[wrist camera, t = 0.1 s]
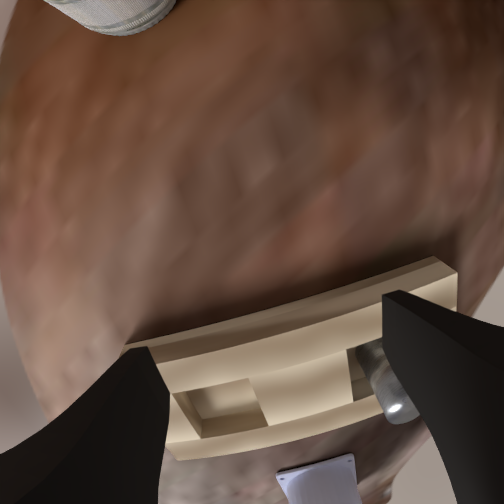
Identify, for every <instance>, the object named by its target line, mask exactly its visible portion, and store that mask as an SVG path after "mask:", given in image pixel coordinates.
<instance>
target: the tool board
mask: <svg viewBox="0 0 504 504" xmlns="http://www.w3.org/2000/svg"><path fill="white" fill-rule="evenodd" d="M396 290H403V291H406V292H408V293H411V294H414V295H416V296H419V297H421V298H423V299H426V300H428V301H431V302H433V303H435V304H438V305H440V306H443V307H445V308H448V309H450V310H453V311H455V312H456V306H457V272H456V271H455V270H453V269H452V268H450V267H449V266H447V265H446V264H445V263H443V262H442V261H440V260H439V259H437V258H436V257H434V256H431V257H428V258H425V259H423V260H420V261H417V262H414V263H411V264H409V265H406V266H403V267H400V268H397V269H394V270H391V271H388V272H385V273H382V274H380V275H377V276H374V277H371V278H368V279H365V280H362V281H358V282H355V283H352V284H349V285H346V286H343V287H340V288H337V289H334V290H330V291H327V292H324V293H321V294H317V295H314V296H311V297H308V298H304V299H301V300H298V301H294V302H291V303H287V304H284V305H280V306H277V307H274V308H270V309H266V310H263V311H259V312H256V313H252V314H249V315H245V316H241V317H238V318H234V319H230V320H226V321H222V322H219V323H215V324H211V325H207V326H203V327H199V328H195V329H191V330H187V331H183V332H179V333H175V334H171V335H166V336H162V337H158V338H154V339H149V340H145V341H140V342H136V343H131V344H127V345H124V347H123V350H122V352H121V354H120V356H119V358H120V357H121V356H122V355H123V354H124V353H125V352H126V351H128V350H129V349H130V348H136V347H143V346H148V348H149V351H150V353H151V355H152V357H153V359H154V361H155V363H156V366H157V368H158V370H159V372H160V374H161V376H162V378H163V380H164V382H165V384H166V386H167V388H168V390H169V392H170V416H169V425H168V431H167V437H166V443H165V446H166V447H167V448H168V450H169V451H170V452H171V453H172V454H173V456H174V457H175V458H176V459H177V460H178V461H180V460H190V459H198V458H206V457H213V456H220V455H226V454H232V453H238V452H244V451H249V450H254V449H259V448H264V447H269V446H273V445H278V444H282V443H286V442H290V441H294V440H298V439H302V438H306V437H309V436H313V435H317V434H320V433H323V432H327V431H330V430H333V429H337V428H340V427H343V426H346V425H349V424H352V423H355V422H358V421H361V420H364V419H366V418H369V417H372V416H375V415H377V414H380V413H383V410H382V408H381V406H380V404H379V402H378V400H377V398H376V396H375V394H374V392H373V390H372V388H371V386H370V384H369V382H368V380H367V378H366V376H365V374H364V372H363V370H362V368H361V366H360V364H359V363H358V361H357V359H356V356H355V350H356V347H357V346H358V345H361V344H364V343H367V342H369V341H372V340H375V339H378V338H380V337H382V294H385V293H389V292H392V291H396Z"/></svg>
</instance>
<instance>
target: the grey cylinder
mask: <svg viewBox="0 0 504 504" xmlns="http://www.w3.org/2000/svg"><path fill="white" fill-rule="evenodd" d="M355 356H356V359H357V361H358V363H359V364H360V366H361V368H362V370H363V372H364V374H365V376H366V378H367V380H368V382H369V384H370V386H371V388H372V390H373V392H374V394H375V396H376V398H377V400H378V402H379V404H380V406H381V408H382V410H383V412H384V414H385V416H386V418H387V420H388V421H389V422H390V423H392V424H402V423H406V422H409V421H411V420H413V419H415V418H416V417H418V416H419V415H420V413H419V412H418V410H417V409H416V407H415V405H414V404H413V402H412V401H411V399H410V398H409V396H408V395H407V393H406V391H405V390H404V388H403V387H402V385H401V384H400V382H399V380H398V379H397V377H396V376H395V374H394V372H393V370H392V368H391V366H390V364H389V362H388V360H387V357H386V355H385V353H384V351H383V349H382V337H380V338H378V339H375V340H372V341H369V342H367V343H364V344H361V345H358V346H357V347H356V350H355Z"/></svg>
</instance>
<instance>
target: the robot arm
mask: <svg viewBox="0 0 504 504" xmlns="http://www.w3.org/2000/svg"><path fill="white" fill-rule="evenodd" d="M382 349H383V351H384V353H385V355H386V357H387V360H388V362H389V364H390V366H391V368H392V370H393V372H394V374H395V376H396V377H397V379H398V380H399V382H400V384H401V385H402V387H403V388H404V390H405V391H406V393H407V395H408V396H409V398H410V399H411V401H412V402H413V404H414V405H415V407H416V409H417V410H418V412H419V413H420V415H421V417H422V418H423V420H424V421H425V423H426V425H427V427H428V429H429V430H430V432H431V434H432V436H433V439H434V441H435V443H436V446H437V448H438V450H439V452H440V455H441V457H442V460H443V462H444V465H445V468H446V470H447V473H448V476H449V478H450V481H451V484H452V488H453V491H454V494H455V497H456V501H457V504H504V327H501V326H497V325H493V324H490V323H486V322H483V321H480V320H477V319H474V318H471V317H469V316H466V315H463V314H460V313H458V312H455V311H453V310H450V309H448V308H445V307H443V306H440V305H438V304H435V303H433V302H431V301H428V300H426V299H423V298H421V297H419V296H416V295H414V294H411V293H408V292H406V291H403V290H396V291H392V292H389V293H385V294H382ZM169 416H170V392H169V390H168V388H167V386H166V384H165V382H164V380H163V378H162V376H161V374H160V372H159V370H158V368H157V366H156V363H155V361H154V359H153V357H152V355H151V353H150V351H149V348H148V346H143V347H136V348H130V349H129V350H128V351H126V352H125V353H124V354H123V355H122V356H121V357H120V358H119V359H118V360H117V361H116V362H115V363H114V364H113V365H112V366H111V367H110V368H109V369H108V370H107V371H106V372H105V373H104V374H103V375H102V376H101V377H100V378H99V379H98V380H97V381H96V382H95V383H94V384H93V385H92V386H91V387H90V388H89V389H88V390H87V391H86V392H85V393H83V394H82V395H81V396H80V397H79V398H78V399H77V400H76V401H75V402H74V403H73V404H72V405H71V406H70V407H69V408H67V409H66V410H65V411H64V412H63V413H62V414H60V415H59V416H58V417H57V418H56V419H54V420H53V421H52V422H50V423H49V424H48V425H47V426H45V427H44V428H43V429H41V430H40V431H38V432H37V433H35V434H34V435H32V436H31V437H29V438H28V439H26V440H24V441H23V442H21V443H20V444H18V445H17V446H15V447H13V448H12V449H9V450H7V451H6V452H4V453H2V454H0V504H158V487H159V478H160V472H161V466H162V460H163V454H164V448H165V443H166V437H167V431H168V425H169ZM276 478H277V480H278V482H279V484H280V486H281V487H282V489H283V491H284V493H285V494H286V496H287V498H288V500H289V504H362V501H361V498H360V495H359V492H358V489H357V479H356V469H355V460H354V455H353V454H352V453H350V454H346V455H343V456H340V457H336V458H333V459H330V460H326V461H323V462H319V463H316V464H312V465H308V466H304V467H300V468H296V469H292V470H287V471H283V472H279V473H277V474H276Z"/></svg>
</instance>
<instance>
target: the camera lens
mask: <svg viewBox="0 0 504 504" xmlns="http://www.w3.org/2000/svg"><path fill="white" fill-rule="evenodd" d="M44 1H46V2H48V3H49V4H51V5H53V6H54V7H56V8H57V9H59V10H60V11H62V12H63V13H65V14H66V15H68V16H70V17H71V18H73V19H74V20H76V21H77V22H79V23H80V24H81V25H83V26H84V27H86V28H88V29H91V30H94V31H96V32H99V33H102V34H108V35H114V36H116V35H118V36H122V35H124V36H127V35H129V34H131V35H132V34H135V33H139V32H141V31H143V30H146V29H148V28H149V27H152V26H153V25H154V24H156V23H158V22H159V21H160V20H161V19H163V18H164V17H165V15H167V14H168V13H169V11H170V10H171V9H172V8H173V5H174V4H175V3H176V0H44Z"/></svg>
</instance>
